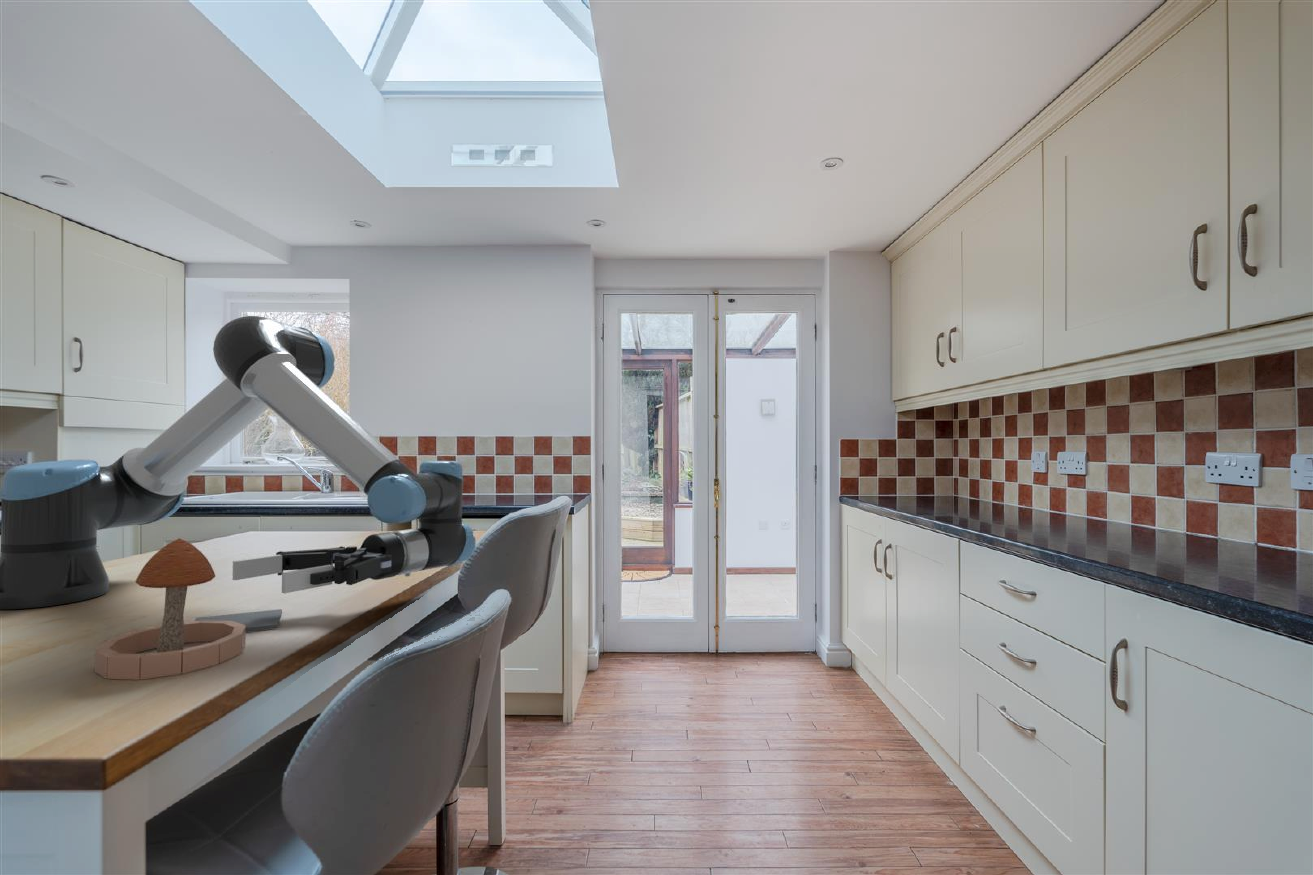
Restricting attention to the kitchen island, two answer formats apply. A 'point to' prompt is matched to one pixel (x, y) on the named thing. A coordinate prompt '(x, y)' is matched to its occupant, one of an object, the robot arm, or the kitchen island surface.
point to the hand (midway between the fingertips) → (257, 576)
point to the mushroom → (175, 586)
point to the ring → (124, 664)
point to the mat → (251, 619)
